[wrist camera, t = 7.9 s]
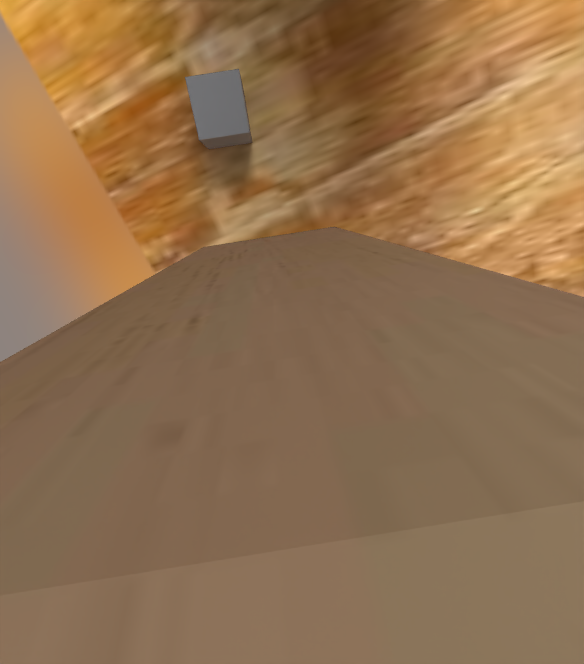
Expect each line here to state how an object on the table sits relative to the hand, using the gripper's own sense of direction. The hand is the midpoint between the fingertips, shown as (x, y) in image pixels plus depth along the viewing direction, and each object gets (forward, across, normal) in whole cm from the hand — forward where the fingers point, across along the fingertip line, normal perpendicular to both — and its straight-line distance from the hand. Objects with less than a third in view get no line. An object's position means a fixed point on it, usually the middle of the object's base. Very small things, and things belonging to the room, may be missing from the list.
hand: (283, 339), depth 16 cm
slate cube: (+25, -7, +15) cm, 30 cm away
